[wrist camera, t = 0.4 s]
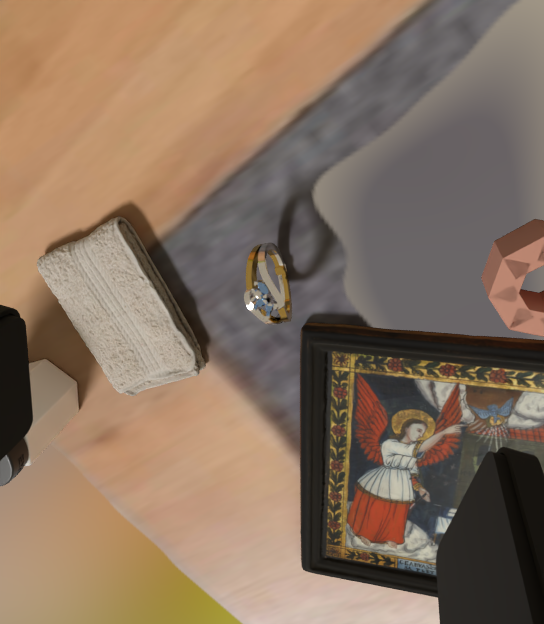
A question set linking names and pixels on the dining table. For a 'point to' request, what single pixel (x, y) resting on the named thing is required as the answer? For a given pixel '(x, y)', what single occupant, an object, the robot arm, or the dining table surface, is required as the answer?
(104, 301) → the washcloth
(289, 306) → the ring
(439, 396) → the religious icon
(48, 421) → the jar
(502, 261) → the pink octagonal nut
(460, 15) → the dining table surface
